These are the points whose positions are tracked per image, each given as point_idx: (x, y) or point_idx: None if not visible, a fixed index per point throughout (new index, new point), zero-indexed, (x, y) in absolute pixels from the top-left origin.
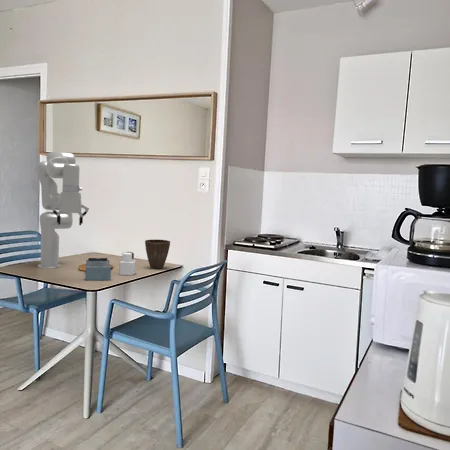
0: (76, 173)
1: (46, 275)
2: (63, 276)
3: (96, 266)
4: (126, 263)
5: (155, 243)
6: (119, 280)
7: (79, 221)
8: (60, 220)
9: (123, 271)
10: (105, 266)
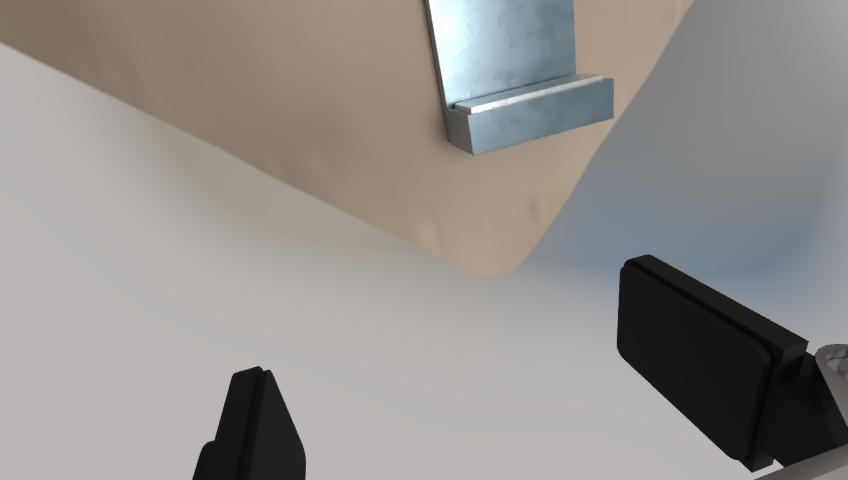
0: None
1: (164, 35)
2: (293, 51)
3: (531, 105)
4: None
5: None
6: None
7: (665, 397)
8: (262, 429)
9: None
10: (583, 92)
